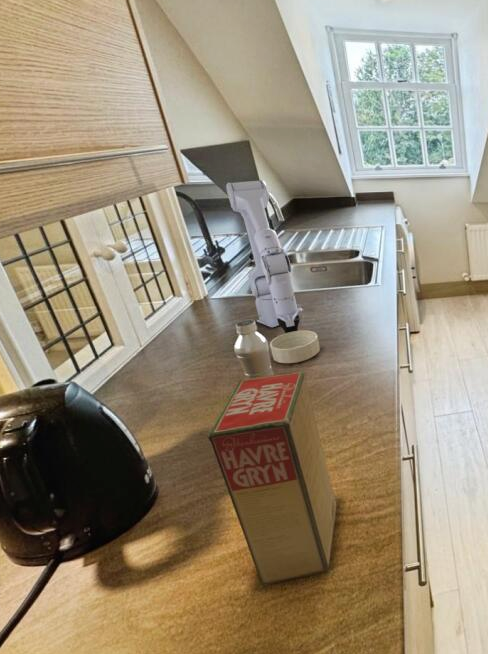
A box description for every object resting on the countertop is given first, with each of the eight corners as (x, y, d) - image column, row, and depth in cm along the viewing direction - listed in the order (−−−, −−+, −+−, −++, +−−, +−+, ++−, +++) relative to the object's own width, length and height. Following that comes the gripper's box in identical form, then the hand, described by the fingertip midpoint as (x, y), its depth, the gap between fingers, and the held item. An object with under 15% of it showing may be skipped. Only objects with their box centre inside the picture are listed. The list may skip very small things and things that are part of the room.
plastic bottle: (289, 399, 104) (269, 319, 96) (265, 415, 98) (241, 331, 90) (270, 393, 106) (248, 314, 98) (244, 408, 100) (220, 326, 93)
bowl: (264, 357, 123) (260, 342, 122) (304, 341, 132) (301, 327, 130) (289, 369, 117) (285, 353, 115) (329, 351, 126) (326, 336, 124)
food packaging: (277, 512, 73) (237, 377, 63) (338, 501, 75) (308, 368, 65) (257, 588, 61) (203, 435, 51) (330, 571, 63) (292, 422, 53)
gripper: (301, 301, 121) (311, 347, 126) (295, 286, 132) (304, 328, 138) (273, 306, 118) (284, 353, 123) (269, 291, 129) (279, 334, 135)
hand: (293, 340), depth 130 cm, fingers closed
